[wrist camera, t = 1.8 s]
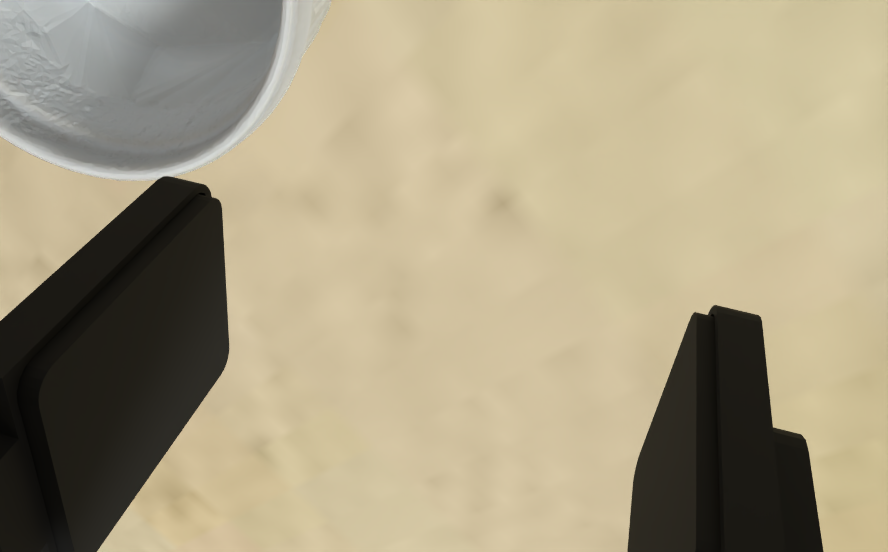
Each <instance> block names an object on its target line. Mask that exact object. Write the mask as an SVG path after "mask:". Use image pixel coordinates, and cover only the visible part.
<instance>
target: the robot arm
mask: <svg viewBox="0 0 888 552" xmlns="http://www.w3.org/2000/svg"><path fill="white" fill-rule="evenodd" d="M228 354H229V334H228V315H227V296H226V277H225V258H224V239H223V220H222V207H221V203H220V201H219V200H218V199H216V198H212V197H211V192H210V190H209V188H208V187H207V186H206V185H204V184H199V183H195V182H191V181H187V180H182V179H178V178H174V177H170V176H163V177H161V178H160V179H158V180H157V181H156V182H155V183H154V184H153V185H151V186H150V187H149V188H148V189H147V190H146V191H145V192H144V193H143V194H141V195H140V196H139V197H138V198H137V199H136V200H135V201H134V202H133V203H131V204H130V205H129V206H128V207H127V208H126V209H125V210H124V211H122V212H121V213H120V214H119V215H118V216H117V217H116V218H115V219H114V220H112V221H111V222H110V223H109V224H108V225H107V226H106V227H105V228H104V229H102V230H101V231H100V232H99V233H98V234H97V235H96V236H95V237H94V238H92V239H91V240H90V241H89V242H88V243H87V244H86V245H85V246H83V247H82V248H81V249H80V250H79V251H78V252H77V253H76V254H75V255H73V256H72V257H71V258H70V259H69V260H68V261H67V262H66V263H65V264H63V265H62V266H61V267H60V268H59V269H58V270H57V271H56V272H55V273H53V274H52V275H51V276H50V277H49V278H48V279H47V280H46V281H44V282H43V283H42V284H41V285H40V286H39V287H38V288H37V289H36V290H34V291H33V292H32V293H31V294H30V295H29V296H28V297H27V298H26V299H24V300H23V301H22V302H21V303H20V304H19V305H18V306H17V307H16V308H14V309H13V310H12V311H11V312H10V313H9V314H8V315H7V316H5V317H4V318H3V319H2V320H1V321H0V552H97V550H98V549H99V548H100V546H101V545H102V543H103V542H104V541H105V539H106V538H107V536H108V535H109V533H110V532H111V531H112V529H113V528H114V526H115V525H116V523H117V522H118V521H119V519H120V518H121V516H122V515H123V513H124V512H125V511H126V509H127V508H128V506H129V505H130V503H131V502H132V501H133V499H134V498H135V496H136V495H137V493H138V492H139V491H140V489H141V488H142V486H143V485H144V484H145V482H146V481H147V479H148V478H149V476H150V475H151V474H152V472H153V471H154V469H155V468H156V466H157V465H158V464H159V462H160V461H161V459H162V458H163V456H164V455H165V454H166V452H167V451H168V449H169V448H170V446H171V445H172V444H173V442H174V441H175V439H176V438H177V436H178V435H179V434H180V432H181V431H182V429H183V428H184V427H185V425H186V424H187V422H188V421H189V419H190V418H191V417H192V415H193V414H194V412H195V411H196V409H197V408H198V407H199V405H200V404H201V402H202V401H203V399H204V398H205V397H206V395H207V394H208V392H209V391H210V389H211V388H212V387H213V385H214V384H215V382H216V381H217V379H218V378H219V377H220V375H221V374H222V372H223V370H224V368H225V365H226V363H227V359H228ZM628 552H823V546H822V539H821V533H820V526H819V519H818V512H817V505H816V499H815V492H814V485H813V478H812V471H811V465H810V458H809V451H808V447H807V443H806V440H805V439H804V437H803V436H802V435H801V434H797V433H793V432H789V431H785V430H781V429H777V428H773V425H772V415H771V405H770V396H769V386H768V376H767V367H766V357H765V347H764V337H763V328H762V320H761V317H760V316H759V315H755V314H751V313H747V312H742V311H738V310H734V309H730V308H725V307H721V306H717V305H714V306H713V307H712V308H711V310H710V311H709V314H708V315H705V314H700V313H696V312H695V313H693V315H692V316H691V319H690V321H689V324H688V326H687V329H686V332H685V334H684V337H683V340H682V342H681V345H680V348H679V350H678V353H677V356H676V358H675V361H674V364H673V367H672V369H671V372H670V375H669V377H668V380H667V383H666V385H665V388H664V391H663V393H662V396H661V399H660V401H659V404H658V407H657V409H656V412H655V415H654V417H653V420H652V423H651V425H650V428H649V431H648V433H647V436H646V439H645V442H644V444H643V447H642V450H641V452H640V455H639V458H638V461H637V465H636V470H635V474H634V481H633V491H632V503H631V515H630V528H629V540H628Z"/></svg>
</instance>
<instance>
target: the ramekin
mask: <svg viewBox="0 0 888 552" xmlns="http://www.w3.org/2000/svg"><path fill="white" fill-rule="evenodd" d="M330 5H331V0H0V137H2V138H3V139H5V140H7V141H8V142H10V143H11V144H13V145H14V146H16V147H18V148H20V149H22V150H24V151H26V152H28V153H29V154H31V155H33V156H35V157H38V158H40V159H42V160H44V161H47V162H49V163H51V164H54V165H57V166H59V167H62V168H65V169H68V170H70V171H74V172H78V173H81V174H85V175H89V176H94V177H98V178H104V179H113V180H122V181H150V180H157V179H160V178H161V177H163V176H170V177H174V176H178V175H181V174H185V173H188V172H191V171H194V170H196V169H198V168H201V167H203V166H205V165H207V164H209V163H211V162H213V161H215V160H217V159H218V158H220V157H221V156H223V155H224V154H226V153H227V152H229V151H230V150H232V149H233V148H234V147H236V146H237V145H238V144H239V143H241V142H242V141H243V140H244V139H246V138H247V137H248V136H249V135H250V134H252V133H253V132H254V131H255V130H256V129H257V128H258V127H259V126H260V125H261V124H262V123H263V122H264V121H265V120H266V119H267V118H268V116H269V115H270V114H271V113H272V112H273V111H274V109H275V108H276V106H277V105H278V104H279V102H280V101H281V99H282V98H283V96H284V95H285V93H286V91H287V90H288V88H289V86H290V84H291V82H292V80H293V78H294V76H295V74H296V71H297V69H298V67H299V65H300V62H301V59H302V56H303V55H304V53H305V52H306V51H307V49H308V48H309V46H310V45H311V43H312V42H313V40H314V39H315V37H316V35H317V33H318V32H319V29H320V26H321V24H322V21H323V20H324V18H325V16H326V15H327V12H328V10H329V8H330Z"/></svg>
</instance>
